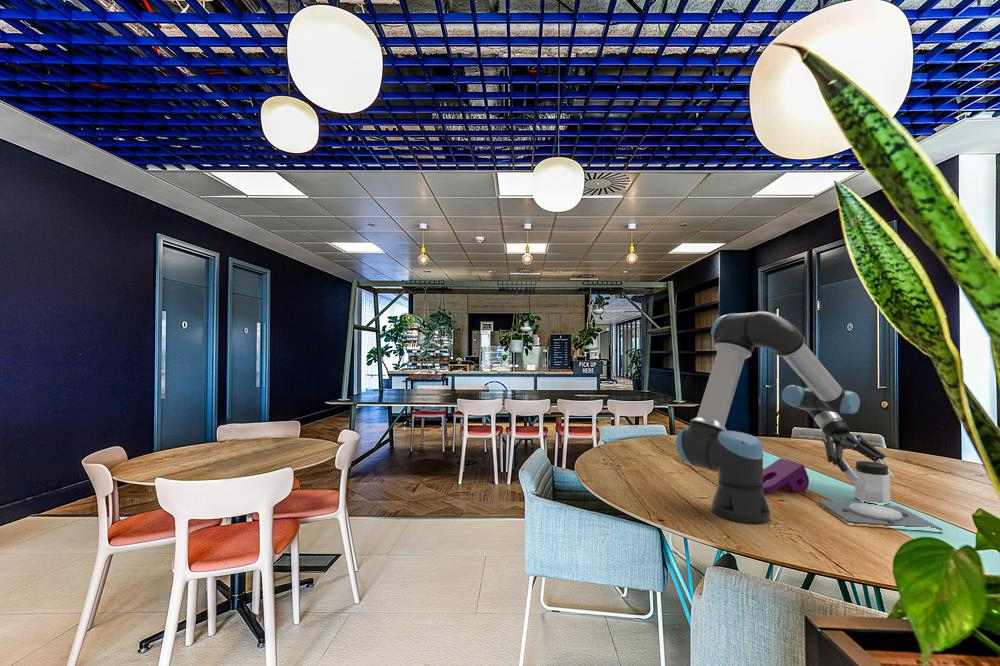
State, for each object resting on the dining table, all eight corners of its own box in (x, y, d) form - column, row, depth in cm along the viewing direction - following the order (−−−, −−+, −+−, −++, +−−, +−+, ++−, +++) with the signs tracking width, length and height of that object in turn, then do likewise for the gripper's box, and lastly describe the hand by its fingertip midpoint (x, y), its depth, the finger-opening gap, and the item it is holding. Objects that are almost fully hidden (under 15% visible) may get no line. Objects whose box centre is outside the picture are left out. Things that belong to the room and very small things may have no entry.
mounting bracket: (774, 512, 153) (812, 486, 158) (764, 490, 153) (803, 464, 157) (752, 503, 162) (788, 478, 167) (743, 482, 162) (780, 458, 166)
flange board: (848, 525, 127) (848, 517, 127) (818, 504, 144) (818, 497, 144) (942, 533, 122) (942, 524, 122) (899, 510, 140) (898, 503, 140)
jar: (849, 496, 153) (848, 460, 153) (874, 497, 152) (874, 460, 153) (869, 505, 144) (868, 467, 144) (896, 506, 143) (895, 467, 144)
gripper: (856, 430, 168) (897, 483, 153) (795, 432, 165) (831, 486, 150) (869, 418, 163) (913, 472, 148) (807, 419, 160) (845, 474, 145)
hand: (872, 479), depth 149 cm, fingers open, 13 cm apart
